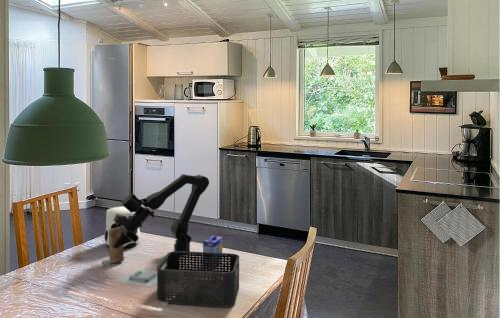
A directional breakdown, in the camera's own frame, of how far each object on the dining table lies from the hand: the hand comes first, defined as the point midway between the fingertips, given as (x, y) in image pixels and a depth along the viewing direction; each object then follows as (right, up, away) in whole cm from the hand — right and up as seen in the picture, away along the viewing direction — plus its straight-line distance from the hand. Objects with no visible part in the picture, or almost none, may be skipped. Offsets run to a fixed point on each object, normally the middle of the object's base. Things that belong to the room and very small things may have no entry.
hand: (113, 245), depth 180 cm
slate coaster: (+1, -8, +2) cm, 8 cm away
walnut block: (+1, -7, +1) cm, 7 cm away
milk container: (-4, -5, +27) cm, 28 cm away
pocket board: (+17, -10, -14) cm, 25 cm away
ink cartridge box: (+44, -9, +3) cm, 45 cm away
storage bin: (+41, -13, -26) cm, 51 cm away
